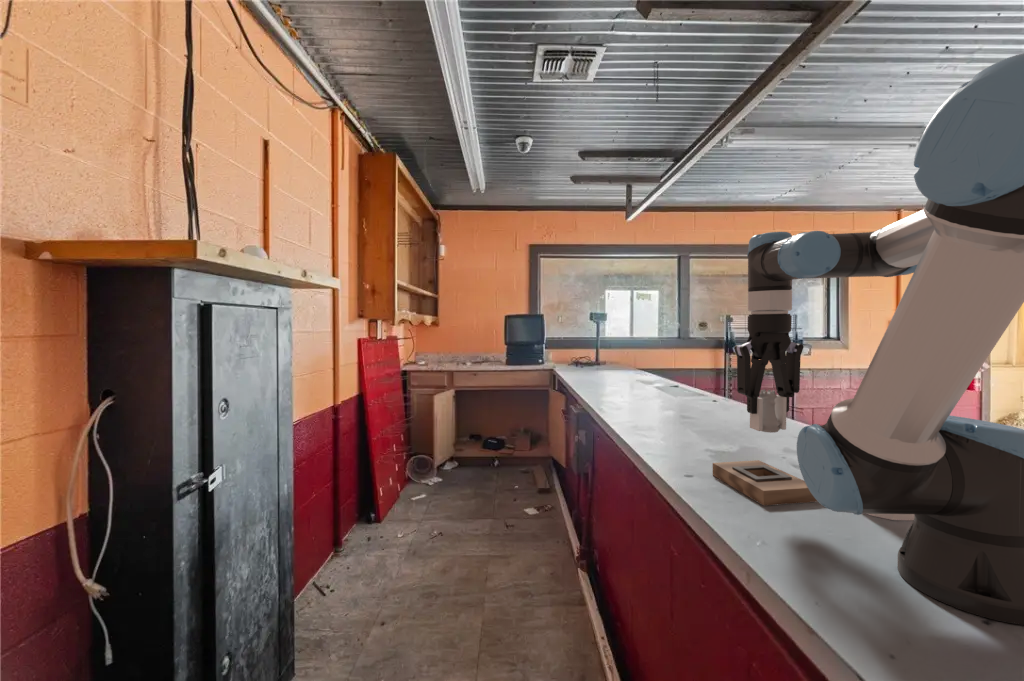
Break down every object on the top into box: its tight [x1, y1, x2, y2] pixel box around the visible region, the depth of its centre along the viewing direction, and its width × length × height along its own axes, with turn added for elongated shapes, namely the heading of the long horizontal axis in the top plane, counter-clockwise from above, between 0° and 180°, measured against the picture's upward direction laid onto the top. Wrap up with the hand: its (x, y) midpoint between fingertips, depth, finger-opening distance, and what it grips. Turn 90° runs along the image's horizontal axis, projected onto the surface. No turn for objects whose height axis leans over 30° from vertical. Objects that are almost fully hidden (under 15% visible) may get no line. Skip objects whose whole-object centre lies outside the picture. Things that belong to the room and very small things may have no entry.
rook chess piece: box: [759, 389, 781, 434], centre depth 87 cm, size 4×4×8 cm
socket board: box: [712, 459, 819, 506], centre depth 96 cm, size 18×12×4 cm, turn 6°
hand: (767, 428), depth 87 cm, fingers closed on rook chess piece, 4 cm apart
